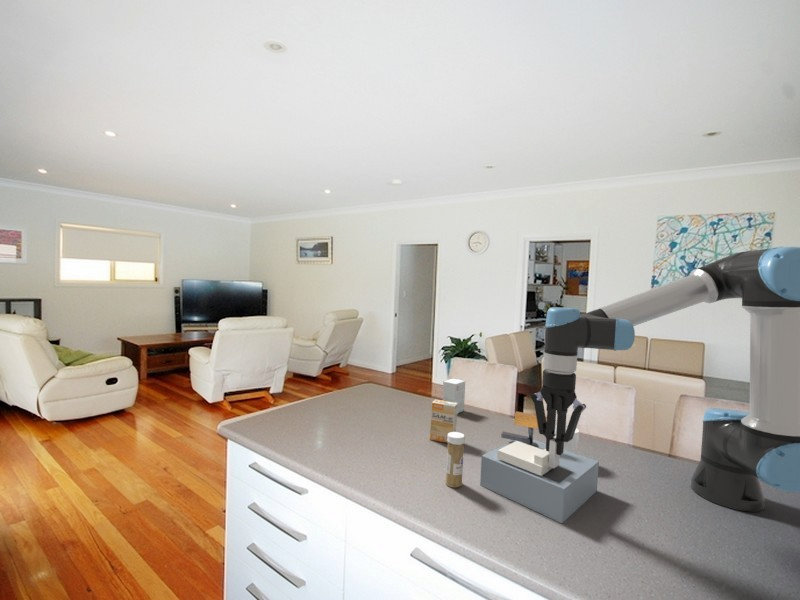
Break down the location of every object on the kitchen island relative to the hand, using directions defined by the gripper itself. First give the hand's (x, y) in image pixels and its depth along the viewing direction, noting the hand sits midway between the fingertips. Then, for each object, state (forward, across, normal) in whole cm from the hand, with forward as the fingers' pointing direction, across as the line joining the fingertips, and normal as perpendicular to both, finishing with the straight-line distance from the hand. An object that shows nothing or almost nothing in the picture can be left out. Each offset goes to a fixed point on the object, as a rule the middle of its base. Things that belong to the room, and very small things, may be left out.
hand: (553, 465), depth 96 cm
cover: (+2, +7, 0) cm, 7 cm away
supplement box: (+10, +43, -10) cm, 45 cm away
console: (+10, +6, -5) cm, 12 cm away
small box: (+10, +60, -38) cm, 71 cm away
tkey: (+1, +13, -11) cm, 17 cm away
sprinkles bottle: (+10, +22, +11) cm, 26 cm away
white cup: (+10, +9, -28) cm, 31 cm away
